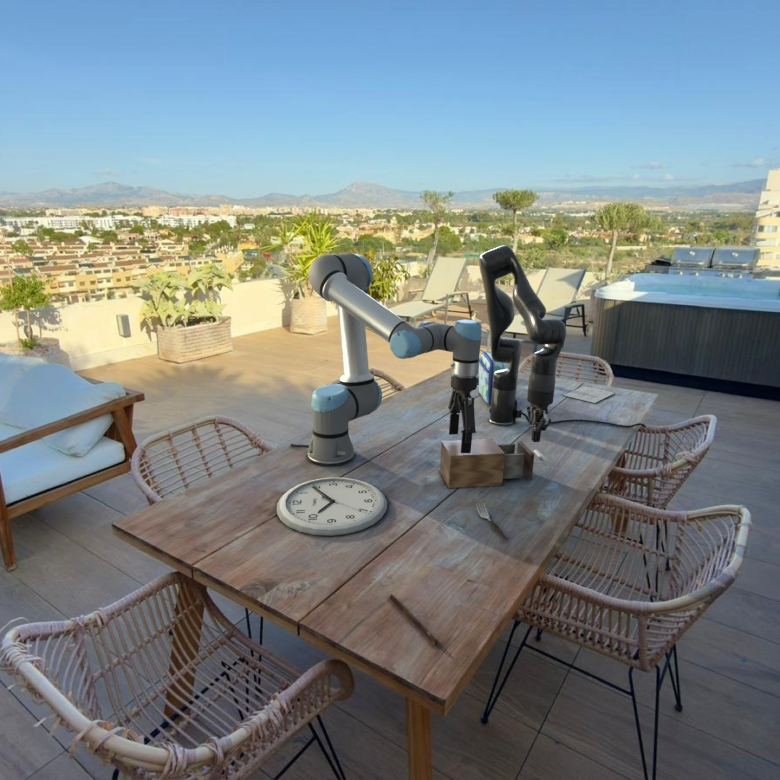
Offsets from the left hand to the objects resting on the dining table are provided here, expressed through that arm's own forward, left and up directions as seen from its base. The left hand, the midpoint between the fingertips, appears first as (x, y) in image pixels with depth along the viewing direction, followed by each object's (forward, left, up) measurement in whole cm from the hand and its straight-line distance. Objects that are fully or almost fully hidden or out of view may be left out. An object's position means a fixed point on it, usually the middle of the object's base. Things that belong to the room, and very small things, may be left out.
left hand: (459, 443), depth 156 cm
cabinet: (+4, +2, -12) cm, 12 cm away
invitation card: (+41, +105, -12) cm, 113 cm away
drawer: (+15, +7, -11) cm, 20 cm away
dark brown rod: (+4, -63, -12) cm, 64 cm away
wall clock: (-29, -28, -12) cm, 42 cm away
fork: (+14, -23, -12) cm, 29 cm away
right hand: (+21, +10, 0) cm, 24 cm away
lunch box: (-1, +81, -12) cm, 82 cm away
